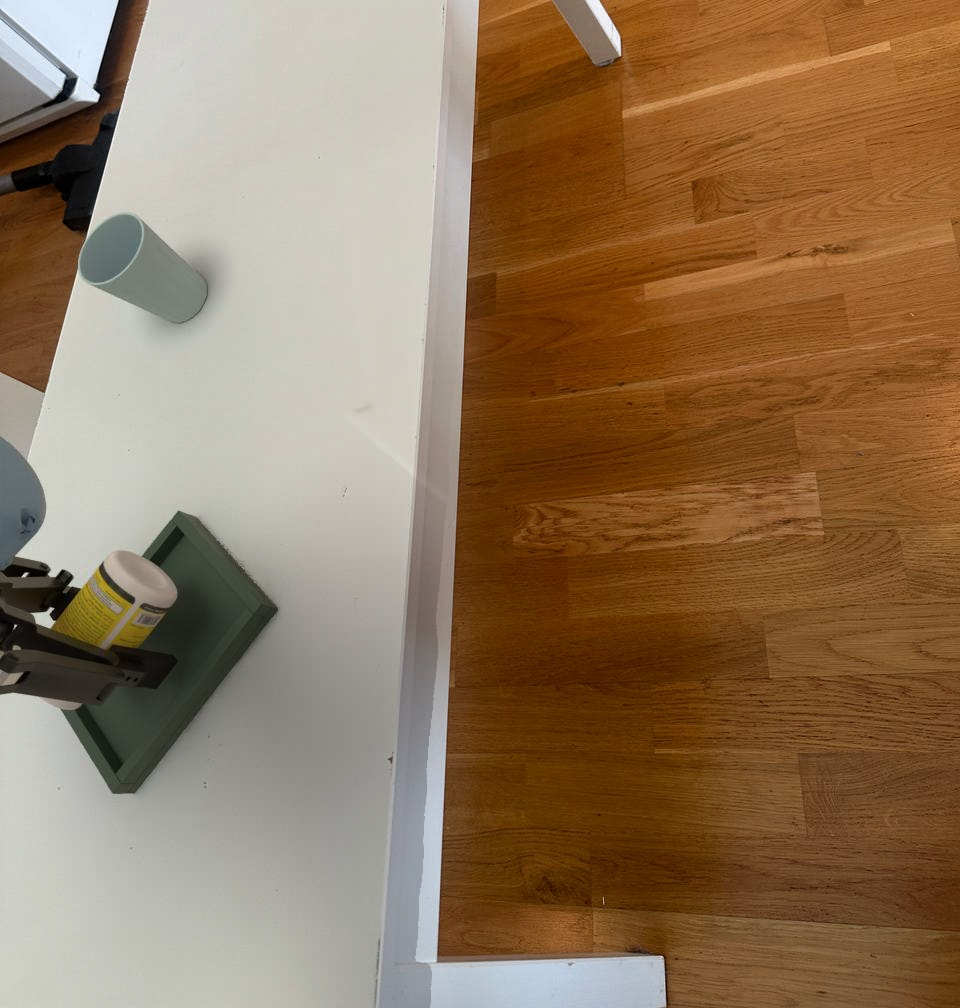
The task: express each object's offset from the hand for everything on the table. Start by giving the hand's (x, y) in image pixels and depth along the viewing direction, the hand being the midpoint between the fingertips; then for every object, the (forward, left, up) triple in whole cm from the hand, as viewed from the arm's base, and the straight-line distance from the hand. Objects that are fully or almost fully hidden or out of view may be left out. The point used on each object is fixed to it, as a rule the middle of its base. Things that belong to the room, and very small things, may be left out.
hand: (143, 643), depth 71 cm
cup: (+30, -17, -3) cm, 35 cm away
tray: (0, 0, -3) cm, 3 cm away
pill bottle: (+1, -6, +5) cm, 8 cm away
